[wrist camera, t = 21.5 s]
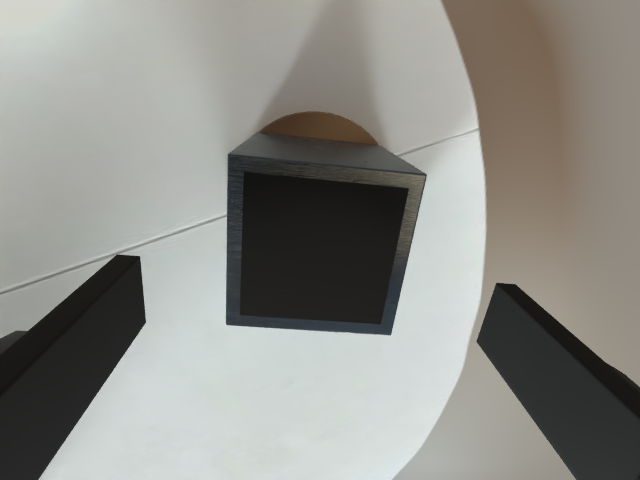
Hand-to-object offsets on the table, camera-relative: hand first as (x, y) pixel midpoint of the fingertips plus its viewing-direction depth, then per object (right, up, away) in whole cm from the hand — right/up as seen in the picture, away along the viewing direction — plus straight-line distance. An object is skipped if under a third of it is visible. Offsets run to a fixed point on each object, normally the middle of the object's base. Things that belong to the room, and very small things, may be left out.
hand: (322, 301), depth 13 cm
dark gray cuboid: (-1, -1, +14) cm, 14 cm away
